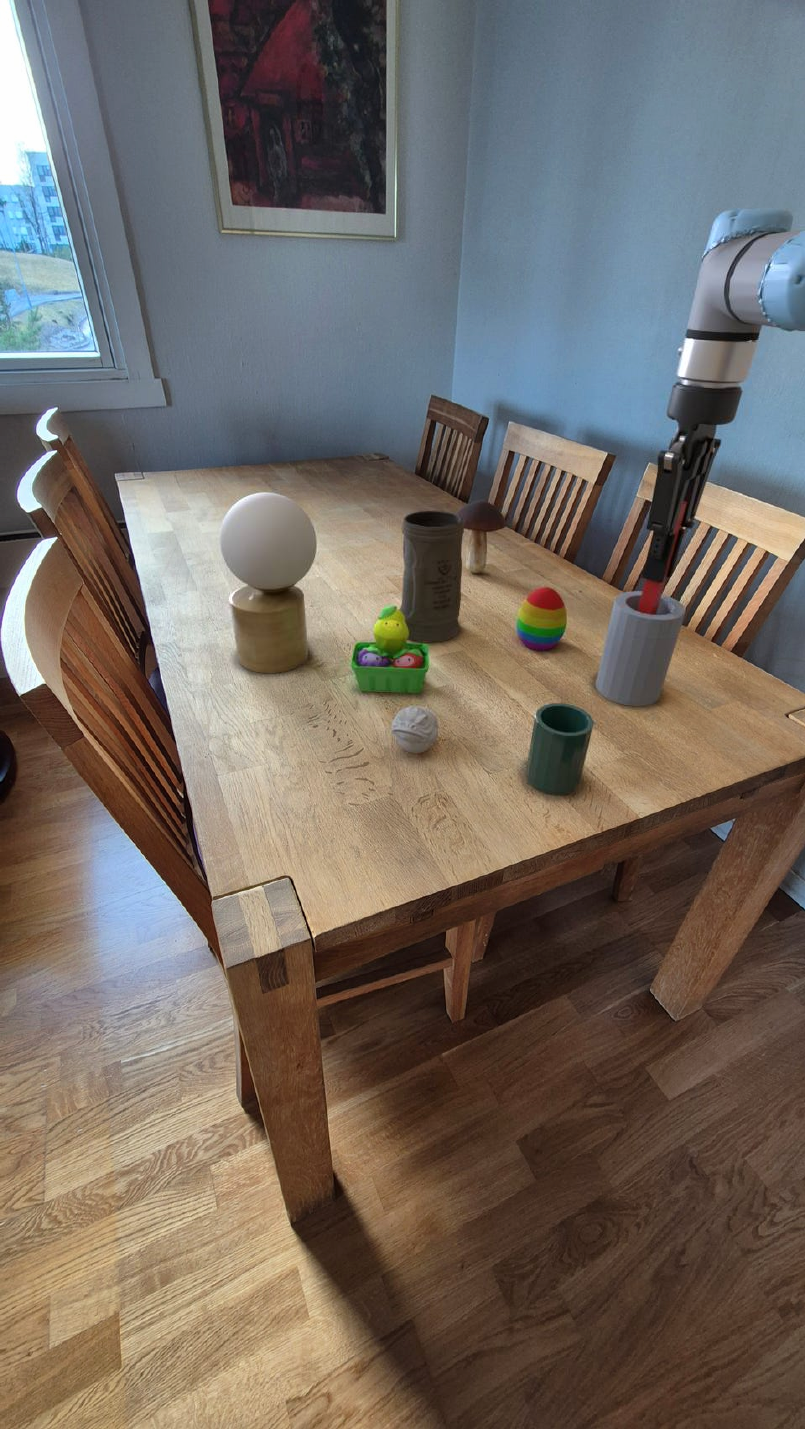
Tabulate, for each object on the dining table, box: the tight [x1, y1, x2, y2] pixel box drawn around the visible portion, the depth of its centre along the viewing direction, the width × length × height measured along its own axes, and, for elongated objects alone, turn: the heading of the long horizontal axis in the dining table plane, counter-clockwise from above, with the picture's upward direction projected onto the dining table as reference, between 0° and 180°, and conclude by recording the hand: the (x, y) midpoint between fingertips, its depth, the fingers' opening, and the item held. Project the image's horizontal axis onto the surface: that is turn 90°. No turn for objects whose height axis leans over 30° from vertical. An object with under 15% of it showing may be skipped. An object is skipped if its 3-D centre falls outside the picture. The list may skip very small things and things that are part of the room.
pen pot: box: [525, 702, 595, 796], centre depth 75 cm, size 7×7×9 cm
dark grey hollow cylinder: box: [399, 510, 465, 643], centre depth 107 cm, size 15×11×20 cm
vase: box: [595, 590, 687, 707], centre depth 91 cm, size 9×9×14 cm
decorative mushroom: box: [455, 499, 507, 574], centre depth 128 cm, size 11×11×15 cm
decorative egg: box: [516, 586, 568, 651], centre depth 104 cm, size 8×8×10 cm
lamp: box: [219, 492, 318, 674], centre depth 96 cm, size 15×14×25 cm
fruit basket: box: [350, 605, 430, 694], centre depth 93 cm, size 11×9×11 cm
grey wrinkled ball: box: [390, 705, 439, 754], centre depth 80 cm, size 6×7×7 cm
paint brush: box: [638, 501, 687, 615], centre depth 86 cm, size 3×3×22 cm
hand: (656, 576), depth 85 cm, fingers closed on paint brush, 2 cm apart
